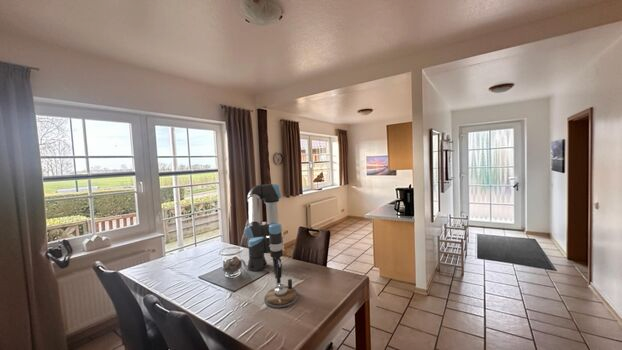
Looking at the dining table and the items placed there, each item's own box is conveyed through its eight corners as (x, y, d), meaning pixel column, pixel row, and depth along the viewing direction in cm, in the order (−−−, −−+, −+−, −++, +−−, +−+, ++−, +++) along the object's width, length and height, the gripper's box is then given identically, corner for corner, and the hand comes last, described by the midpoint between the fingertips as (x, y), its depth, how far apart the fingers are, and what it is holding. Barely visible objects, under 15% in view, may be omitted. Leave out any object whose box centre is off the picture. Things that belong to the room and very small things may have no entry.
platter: (263, 292, 152) (262, 282, 152) (291, 285, 159) (290, 276, 159) (270, 308, 136) (269, 296, 135) (300, 299, 143) (300, 288, 142)
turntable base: (261, 294, 153) (261, 292, 153) (292, 286, 161) (291, 285, 161) (268, 312, 135) (268, 309, 134) (303, 302, 142) (303, 300, 142)
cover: (272, 291, 150) (272, 283, 150) (285, 288, 154) (285, 280, 153) (276, 298, 143) (275, 289, 143) (289, 294, 146) (289, 286, 146)
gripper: (267, 247, 156) (269, 284, 157) (273, 254, 144) (275, 293, 145) (279, 245, 159) (281, 281, 160) (285, 251, 147) (287, 290, 148)
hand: (278, 287), depth 152 cm, fingers closed
